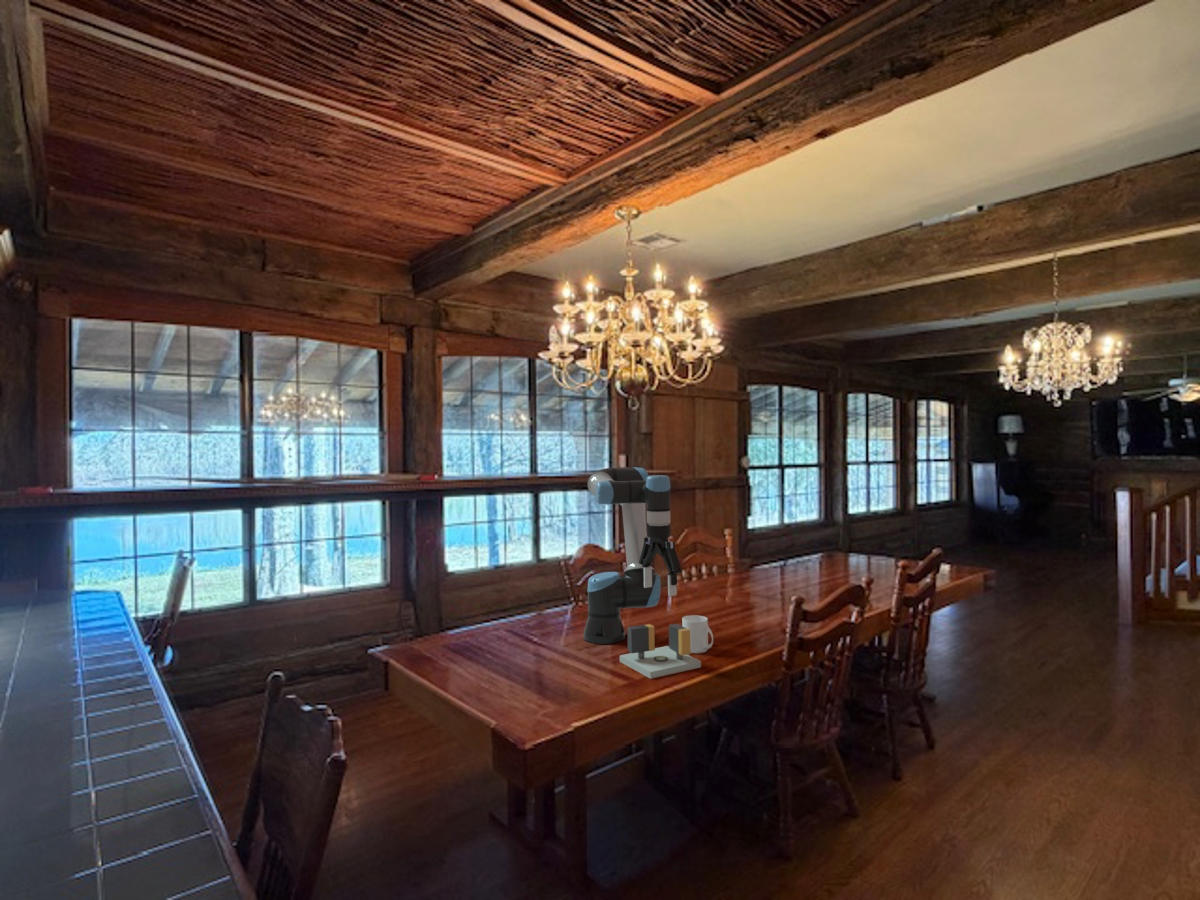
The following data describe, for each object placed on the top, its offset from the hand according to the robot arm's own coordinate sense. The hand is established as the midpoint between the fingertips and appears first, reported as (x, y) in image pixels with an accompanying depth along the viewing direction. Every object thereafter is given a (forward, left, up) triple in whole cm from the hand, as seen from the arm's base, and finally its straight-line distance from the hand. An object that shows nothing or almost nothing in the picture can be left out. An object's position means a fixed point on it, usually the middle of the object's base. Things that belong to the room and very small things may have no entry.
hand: (659, 591), depth 201 cm
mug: (-5, +19, -24) cm, 31 cm away
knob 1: (-4, -5, -22) cm, 23 cm away
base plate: (-1, 0, -24) cm, 24 cm away
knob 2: (+3, +5, -22) cm, 23 cm away
